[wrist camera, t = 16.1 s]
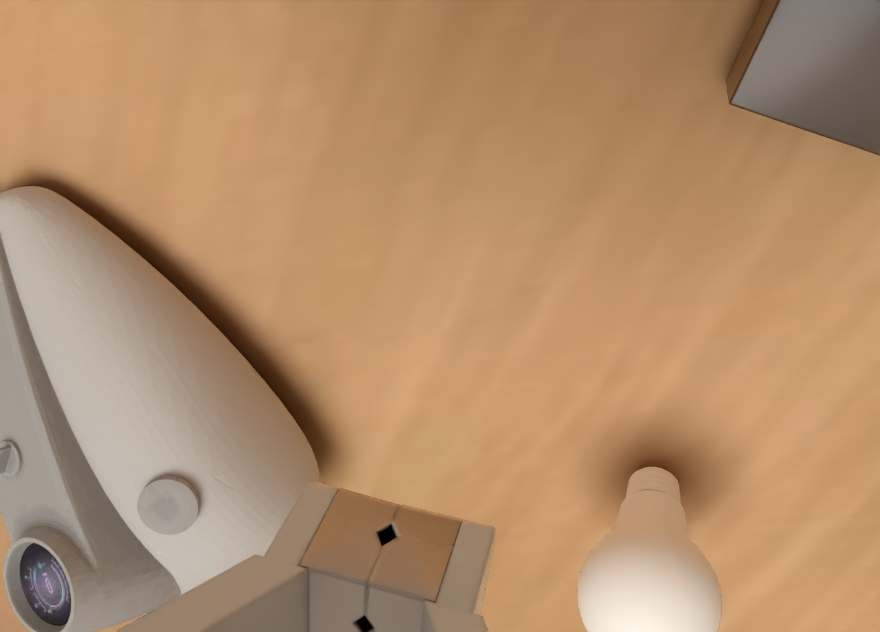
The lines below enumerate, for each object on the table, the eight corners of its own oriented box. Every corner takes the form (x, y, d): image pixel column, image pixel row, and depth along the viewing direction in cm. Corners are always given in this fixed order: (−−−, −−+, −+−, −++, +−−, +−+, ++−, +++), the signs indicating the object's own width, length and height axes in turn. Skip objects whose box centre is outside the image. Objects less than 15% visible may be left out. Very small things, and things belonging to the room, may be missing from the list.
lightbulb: (733, 448, 41) (747, 633, 32) (694, 533, 44) (695, 721, 35) (611, 414, 41) (590, 584, 32) (581, 499, 45) (554, 675, 36)
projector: (362, 254, 40) (223, 445, 28) (331, 564, 53) (225, 789, 41) (-39, 153, 43) (-321, 286, 31) (22, 469, 56) (-162, 652, 44)
